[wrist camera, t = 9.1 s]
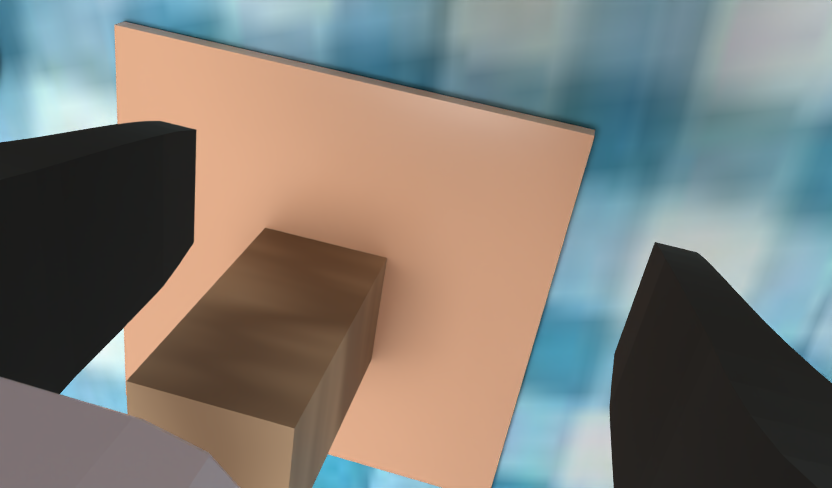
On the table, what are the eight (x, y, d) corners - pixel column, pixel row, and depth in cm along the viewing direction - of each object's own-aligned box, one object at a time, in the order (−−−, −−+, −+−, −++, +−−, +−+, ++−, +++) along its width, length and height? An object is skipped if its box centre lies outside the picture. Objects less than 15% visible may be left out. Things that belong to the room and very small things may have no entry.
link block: (387, 257, 24) (294, 428, 17) (371, 359, 26) (282, 550, 19) (265, 227, 24) (125, 381, 17) (258, 330, 26) (131, 505, 19)
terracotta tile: (594, 130, 21) (594, 135, 20) (489, 490, 28) (487, 500, 27) (124, 21, 23) (114, 24, 22) (133, 386, 29) (126, 395, 29)
